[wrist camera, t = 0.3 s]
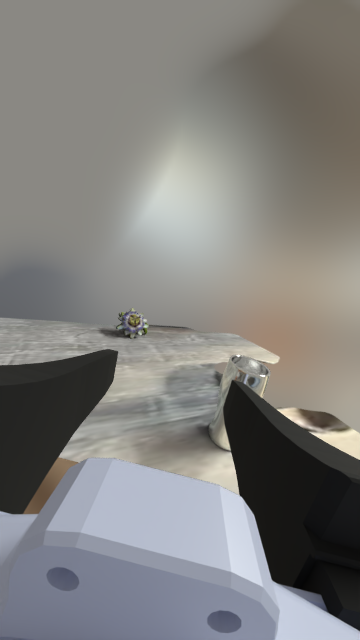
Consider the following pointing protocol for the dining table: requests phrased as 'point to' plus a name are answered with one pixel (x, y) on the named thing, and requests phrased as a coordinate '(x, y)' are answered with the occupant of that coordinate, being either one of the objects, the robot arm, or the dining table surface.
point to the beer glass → (237, 370)
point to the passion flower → (132, 323)
